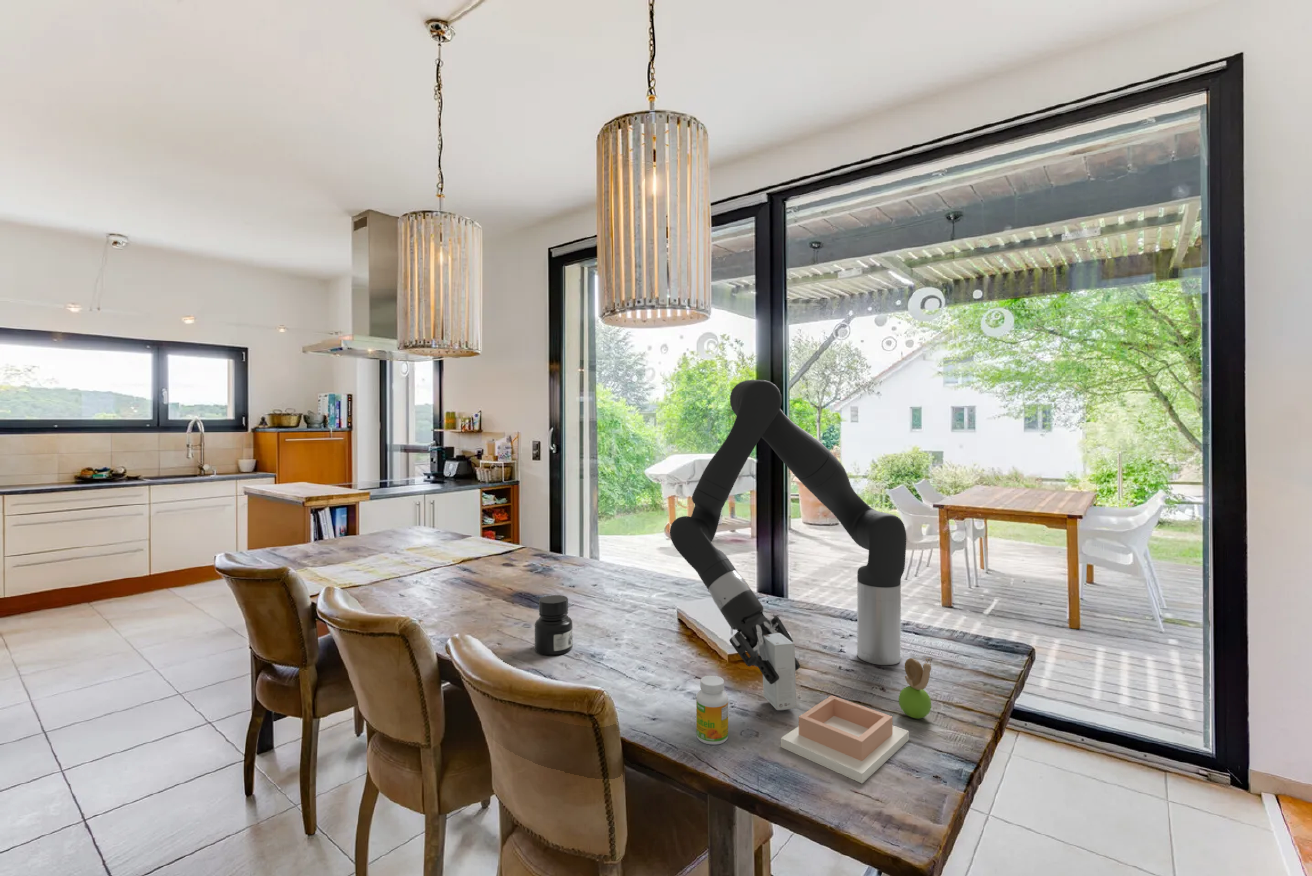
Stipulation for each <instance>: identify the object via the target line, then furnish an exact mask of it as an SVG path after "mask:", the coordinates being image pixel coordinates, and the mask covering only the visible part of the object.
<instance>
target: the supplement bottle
mask: <svg viewBox="0 0 1312 876" xmlns="http://www.w3.org/2000/svg"><path fill="white" fill-rule="evenodd" d="M699 684H700V690H698V692H697V693H696V702H695V703H696V709H695V710H696V713H695V714H696V722H695V723H696V726H695V727H696V728H695V729H696V732H695V733H696V734H695V735H696V737H697V739H698V740H699V741H700V742H701V743H704V744H707V745H710V746H711V745H713V746H714V745H721V744H724V743H725V742H726V741H727V740H728V737H729V696H728V694H727V692H726V691H725V680H724V679H723V678H722V677H720V676H719V675H718V676H717V675H706V676H705V675H704V676H703V677H701V678H700V683H699Z"/></svg>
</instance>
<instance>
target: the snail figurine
mask: <svg viewBox="0 0 1312 876" xmlns="http://www.w3.org/2000/svg"><path fill="white" fill-rule="evenodd" d="M932 661H933V658H932V657H929V658H928V657H927V658H925V662H926V663H923V665H922V664H921V663H920V661H919V660H917V659H916V658H912V657H910V658H908V659H906V660H905V663H904V671H905V676H904V678H905V679H904V680H905V681H906V683H907V685H908V686H905V687H904V688H903V689H901V691H900V692H899V695H898V704H899V707H900V708H901V710H902V712H903V713H904V714H905V715H907V717H910V718H913V719H917V720H918V719H923V718H925V717H927V716H928V715H929V713H930V712H931V710H932V699H931V696H930V695H929V694H928V692H927V691H926V690H925V689H926V688H927V686H928V684H929V681H930V675H931V670H932V666H931V664H932ZM928 662H930V663H928Z"/></svg>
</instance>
